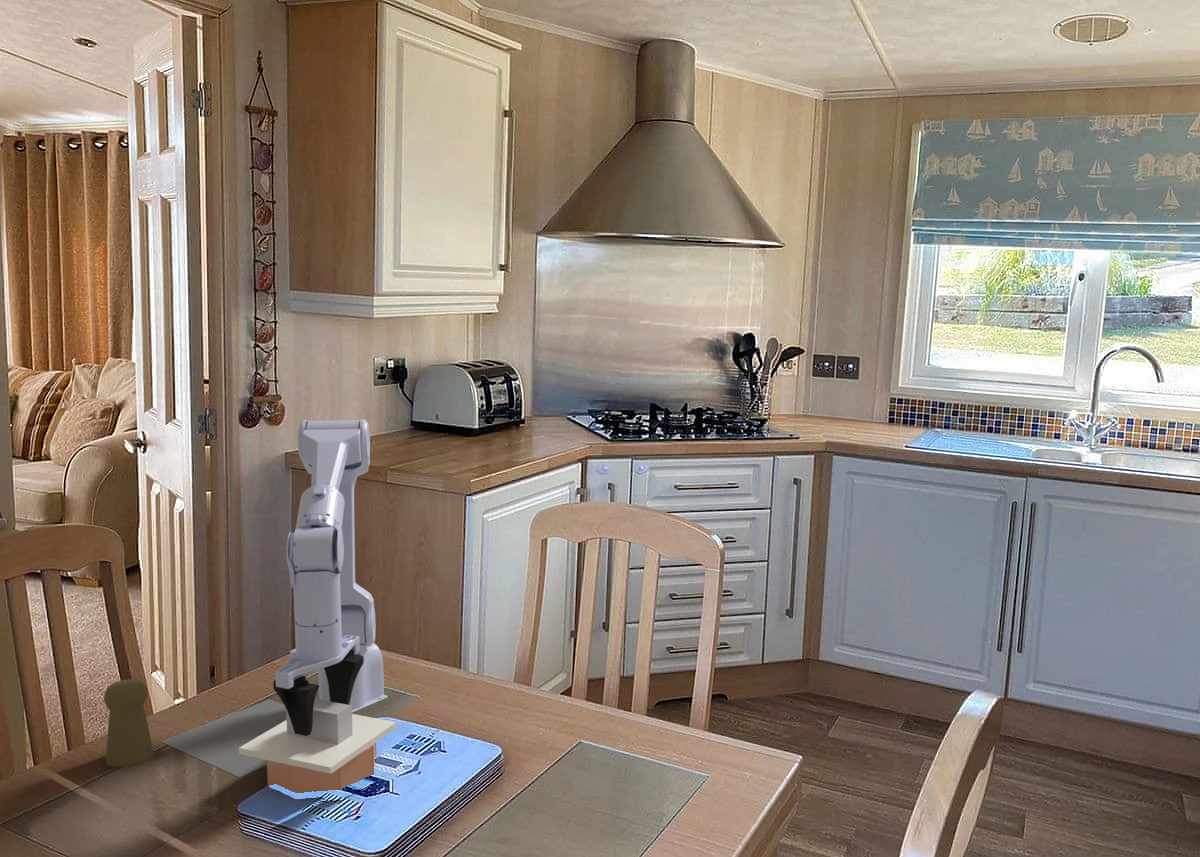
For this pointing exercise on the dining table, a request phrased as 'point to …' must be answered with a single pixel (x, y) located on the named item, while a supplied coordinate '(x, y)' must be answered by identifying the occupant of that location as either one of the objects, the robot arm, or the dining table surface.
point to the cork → (127, 724)
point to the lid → (320, 738)
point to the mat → (231, 737)
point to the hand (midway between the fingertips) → (321, 721)
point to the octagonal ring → (322, 774)
